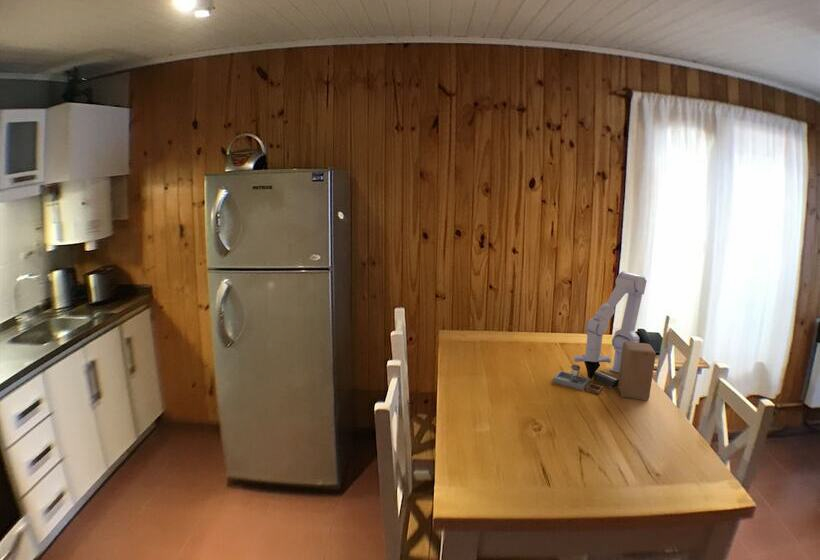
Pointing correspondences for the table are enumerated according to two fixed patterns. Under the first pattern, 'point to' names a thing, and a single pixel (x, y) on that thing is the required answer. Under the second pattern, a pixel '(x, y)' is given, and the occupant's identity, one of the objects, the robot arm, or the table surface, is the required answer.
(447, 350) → the table surface
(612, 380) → the block
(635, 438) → the table surface
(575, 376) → the pin
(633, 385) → the wooden block
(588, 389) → the collar
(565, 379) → the tray
